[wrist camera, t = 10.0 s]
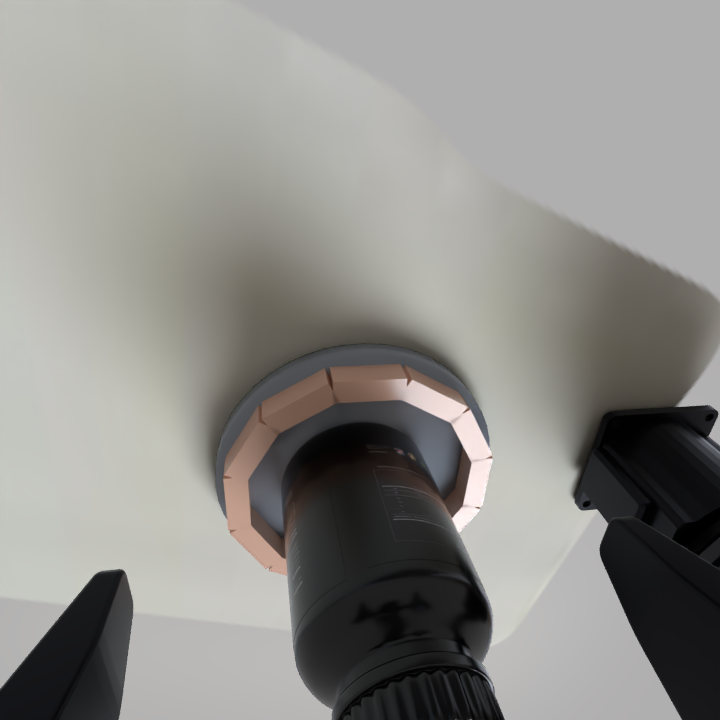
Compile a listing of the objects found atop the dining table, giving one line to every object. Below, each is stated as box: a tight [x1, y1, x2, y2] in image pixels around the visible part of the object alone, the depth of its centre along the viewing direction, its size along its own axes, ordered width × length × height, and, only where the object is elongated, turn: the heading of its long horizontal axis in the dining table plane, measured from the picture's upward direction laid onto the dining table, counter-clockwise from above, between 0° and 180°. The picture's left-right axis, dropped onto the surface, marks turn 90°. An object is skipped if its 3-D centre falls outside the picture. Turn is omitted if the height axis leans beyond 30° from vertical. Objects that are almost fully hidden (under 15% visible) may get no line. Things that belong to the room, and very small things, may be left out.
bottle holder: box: [215, 344, 493, 575], centre depth 24 cm, size 13×13×2 cm
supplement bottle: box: [281, 422, 505, 720], centre depth 19 cm, size 7×7×12 cm
